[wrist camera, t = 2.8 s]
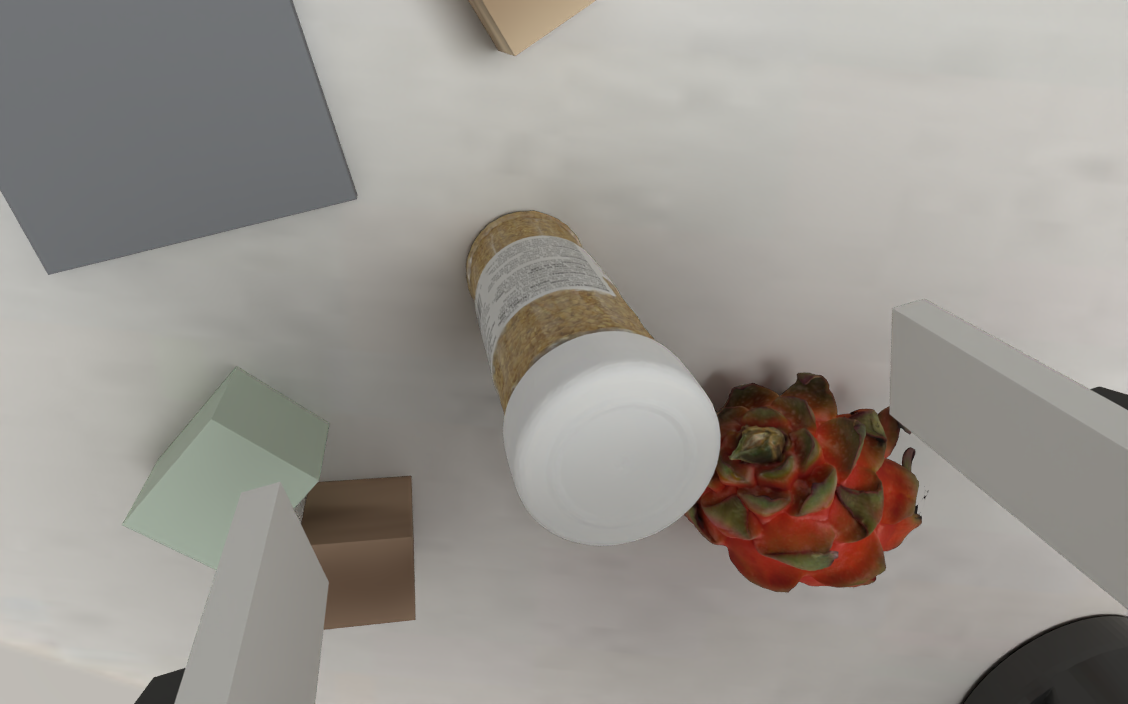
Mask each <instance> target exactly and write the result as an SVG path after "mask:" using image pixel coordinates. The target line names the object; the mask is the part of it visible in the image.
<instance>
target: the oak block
mask: <svg viewBox="0 0 1128 704" xmlns="http://www.w3.org/2000/svg"><path fill="white" fill-rule="evenodd" d="M468 1H469V3H470V4H471V6H472V7H473V9H474V11H475V12H476V14H477V16H478V17H479V19H480V21H481V22H482V24H483V26H484V27H485V29H486V31H487V32H488V34H489V36H490V37H491V39H492V41H493V42H494V44H495V46H496V47H497V49H498V51H501V52H504V53H507V54H510V55H513V56H516V55H518V54H519V53H521V52H522V51H523V50H525V49H526V48H528V47H529V46H531V45H532V44H534V43H535V42H536V41H538V40H539V39H541V38H542V37H544V36H545V35H547V34H548V33H549V32H551V31H552V30H554V29H555V28H557V27H558V26H560V25H561V24H563V23H564V22H565V21H567V20H568V19H570V18H571V17H573V16H574V15H576V14H577V13H578V12H580V11H581V10H583V9H584V8H586V7H587V6H589V5H590V4H592V3H593V2H594V1H596V0H468Z"/></svg>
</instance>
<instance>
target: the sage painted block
mask: <svg viewBox="0 0 1128 704" xmlns="http://www.w3.org/2000/svg"><path fill="white" fill-rule="evenodd" d="M328 429H329V423H328V422H326V421H325V420H323V419H321V418H320V417H318V416H316V415H315V414H313V413H312V412H310V411H308V410H307V409H305V408H303V407H302V406H300V405H299V404H297V403H295V402H294V401H292V400H290V399H289V398H287V397H286V396H284V395H282V394H281V393H279V392H277V391H276V390H274V389H273V388H271V387H269V386H268V385H266V384H264V383H263V382H261V381H260V380H258V379H256V378H255V377H253V376H251V375H250V374H248V373H247V372H245V371H243V370H242V369H240V368H238V367H237V366H236V368H235V369H234V370H233V371H232V372H231V374H230V375H229V376H228V377H227V378H226V380H225V381H224V382H223V383H222V384H221V386H220V387H219V388H218V389H217V390H216V392H215V393H214V394H213V395H212V396H211V397H210V399H209V400H208V401H207V402H206V403H205V405H204V406H203V407H202V408H201V409H200V411H199V412H198V413H197V414H196V415H195V417H194V418H193V419H192V420H191V421H190V423H189V424H188V425H187V426H186V427H185V429H184V430H183V431H182V432H181V433H180V434H179V436H178V437H177V438H176V439H175V440H174V442H173V443H172V444H171V445H170V446H169V448H168V449H167V450H166V451H165V452H164V454H163V455H162V456H161V457H160V458H159V460H158V461H157V463H156V465H155V466H154V468H153V470H152V472H151V474H150V475H149V477H148V479H147V481H146V483H145V484H144V486H143V488H142V490H141V492H140V493H139V495H138V497H137V499H136V501H135V502H134V504H133V506H132V508H131V510H130V511H129V513H128V515H127V517H126V519H125V520H124V522H123V524H122V525H123V526H125V527H127V528H129V529H131V530H133V531H135V532H137V533H140V534H142V535H144V536H146V537H148V538H150V539H152V540H154V541H156V542H158V543H161V544H163V545H165V546H167V547H169V548H171V549H173V550H175V551H177V552H179V553H182V554H184V555H186V556H188V557H190V558H192V559H194V560H196V561H198V562H200V563H203V564H205V565H207V566H209V567H211V568H213V569H215V570H217V567H218V564H219V561H220V558H221V555H222V552H223V548H224V545H225V542H226V539H227V536H228V533H229V529H230V526H231V523H232V520H233V517H234V514H235V511H236V507H237V504H238V501H239V498H240V495H241V493H242V492H245V491H249V490H252V489H256V488H259V487H263V486H266V485H270V484H274V483H277V482H281V484H282V486H283V488H284V490H285V492H286V494H287V496H288V498H289V500H290V502H291V505H292V507H293V509H294V508H295V507H296V506H297V505H298V504H299V503H300V501H301V500H302V499H303V498H304V497H305V496H306V495H307V494H308V493H309V492H310V490H311V489H312V488H313V487H314V486H315V485H316V484H317V483H318V482H319V479H320V473H321V468H322V462H323V457H324V451H325V445H326V440H327V434H328Z"/></svg>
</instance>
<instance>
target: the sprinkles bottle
mask: <svg viewBox="0 0 1128 704" xmlns="http://www.w3.org/2000/svg"><path fill="white" fill-rule="evenodd" d="M466 272H467V275H466V278H467V283H468V288H469V291H470V294H471V296H472V298H473V299H474V301H475V309H476V315H477V319H478V323H479V327H480V331H481V335H482V339H483V343H484V347H485V350H486V354H487V358H488V362H489V366H490V370H491V375H492V379H493V383H494V386H495V389H496V392H497V394H498V396H499V398H500V401H501V405H502V408H503V411H504V422H503V440H504V447H505V452H506V456H507V460H508V464H509V468H510V471H511V474H512V477H513V481H514V484H515V487H516V490H517V493H518V495H519V497H520V499H521V501H522V503H523V505H524V506H525V508H526V509H527V511H528V512H529V514H530V515H531V516H532V517H533V518H534V519H535V520H536V521H537V522H538V523H539V524H540V525H541V526H543V527H544V528H545V529H547V530H548V531H550V532H551V533H553V534H555V535H557V536H559V537H561V538H563V539H565V540H569V541H572V542H576V543H579V544H585V545H593V546H612V545H620V544H625V543H630V542H634V541H637V540H640V539H643V538H646V537H648V536H651V535H653V534H655V533H657V532H660V531H661V530H663V529H665V528H666V527H668V526H669V525H671V524H673V523H674V522H675V521H677V520H678V519H679V518H680V517H681V516H683V515H684V514H685V513H686V512H687V511H688V510H689V509H690V508H691V507H692V506H693V505H694V504H695V503H696V501H697V500H698V499H699V498H700V496H701V495H702V494H703V492H704V491H705V489H706V487H707V486H708V484H709V482H710V480H711V478H712V476H713V474H714V471H715V468H716V466H717V462H718V457H719V452H720V437H721V435H720V427H719V422H718V418H717V414H716V412H715V409H714V407H713V404H712V402H711V400H710V399H709V397H708V396H707V394H706V393H705V391H704V390H703V388H702V387H701V386H700V385H699V383H698V382H697V381H696V379H695V378H694V377H693V375H692V374H691V373H690V372H689V370H688V369H687V368H686V367H685V365H684V364H683V363H682V362H681V360H680V359H679V358H678V357H677V356H676V355H674V354H673V353H672V352H671V351H670V350H669V349H668V348H666V347H665V346H664V345H662V344H660V343H659V342H657V341H655V340H654V339H653V337H652V336H651V335H650V334H649V333H648V331H647V330H646V329H645V328H644V327H643V325H642V324H641V322H640V320H639V319H638V317H637V316H636V315H635V313H634V312H633V311H632V310H631V309H630V308H629V306H628V305H627V304H626V302H625V301H624V300H623V299H622V297H621V295H620V293H619V291H618V289H617V288H616V286H615V285H614V284H613V283H612V282H611V280H610V279H609V278H608V277H607V275H606V274H605V273H604V272H603V270H602V269H601V268H600V267H599V265H598V264H597V263H596V262H595V260H594V259H593V258H592V257H591V256H590V255H589V254H588V252H586V251H585V250H584V249H583V248H582V246H581V243H580V241H579V239H578V238H577V236H576V235H575V233H574V232H572V231H571V230H570V228H569V227H568V226H567V225H566V224H564V223H562V222H561V221H560V220H558V219H556V218H554V217H552V216H549V215H547V214H543V213H540V212H537V211H526V212H515V213H511V214H507V215H504V216H502V217H500V218H498V219H496V220H495V221H493V222H491V223H489V224H488V225H487V226H486V228H485V229H484V230H483V231H482V232H481V233H480V234H479V235H478V236H477V238H476V240H475V241H474V243H473V244H472V247H471V250H470V252H469V254H468V258H467V263H466Z"/></svg>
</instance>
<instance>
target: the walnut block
mask: <svg viewBox="0 0 1128 704" xmlns="http://www.w3.org/2000/svg"><path fill="white" fill-rule="evenodd" d="M301 525H302V527H303V530H304V532H305V534H306V536H307V538H308V540H309V542H310V544H311V546H312V548H313V550H314V552H315V554H316V557H317V559H318V561H319V563H320V565H321V567H322V569H323V571H324V573H325V575H326V577H327V579H328V582H329V585H328V594H327V603H326V611H325V620H324V629H323V630H325V629H334V628H343V627H353V626H362V625H372V624H381V623H390V622H400V621H409V620H415V575H414V538H413V510H412V482H411V476H402V477H387V478H372V479H357V480H342V481H327V482H318V483H317V484H316V485H315V486H314V487H313V488H312V489H311V490H310V492H309V493H308V494H307V498H306V503H305V508H304V512H303V517H302V522H301Z"/></svg>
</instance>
